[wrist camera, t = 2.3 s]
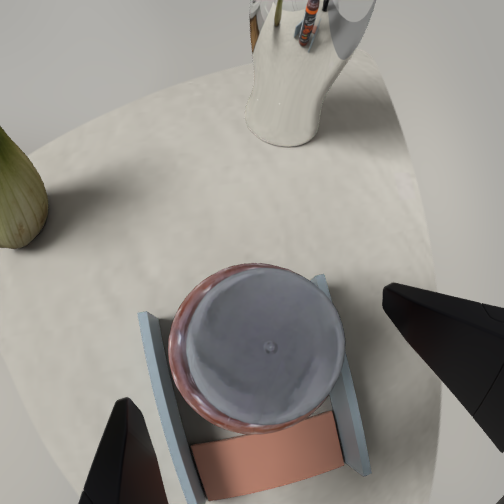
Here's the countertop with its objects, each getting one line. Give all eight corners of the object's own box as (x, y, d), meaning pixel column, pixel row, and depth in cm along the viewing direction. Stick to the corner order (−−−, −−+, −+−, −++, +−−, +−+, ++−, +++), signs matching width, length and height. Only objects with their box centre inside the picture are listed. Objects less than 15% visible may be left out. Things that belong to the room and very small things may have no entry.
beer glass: (250, 83, 25) (273, -71, 11) (327, 104, 25) (383, -42, 11) (227, 138, 23) (241, -54, 8) (317, 162, 23) (396, -14, 8)
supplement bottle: (301, 315, 19) (396, 260, 8) (280, 409, 17) (357, 473, 6) (205, 292, 19) (186, 206, 8) (181, 387, 17) (123, 429, 6)
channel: (351, 459, 16) (371, 473, 13) (198, 500, 14) (194, 521, 12) (309, 286, 19) (324, 273, 17) (150, 319, 18) (137, 312, 15)
